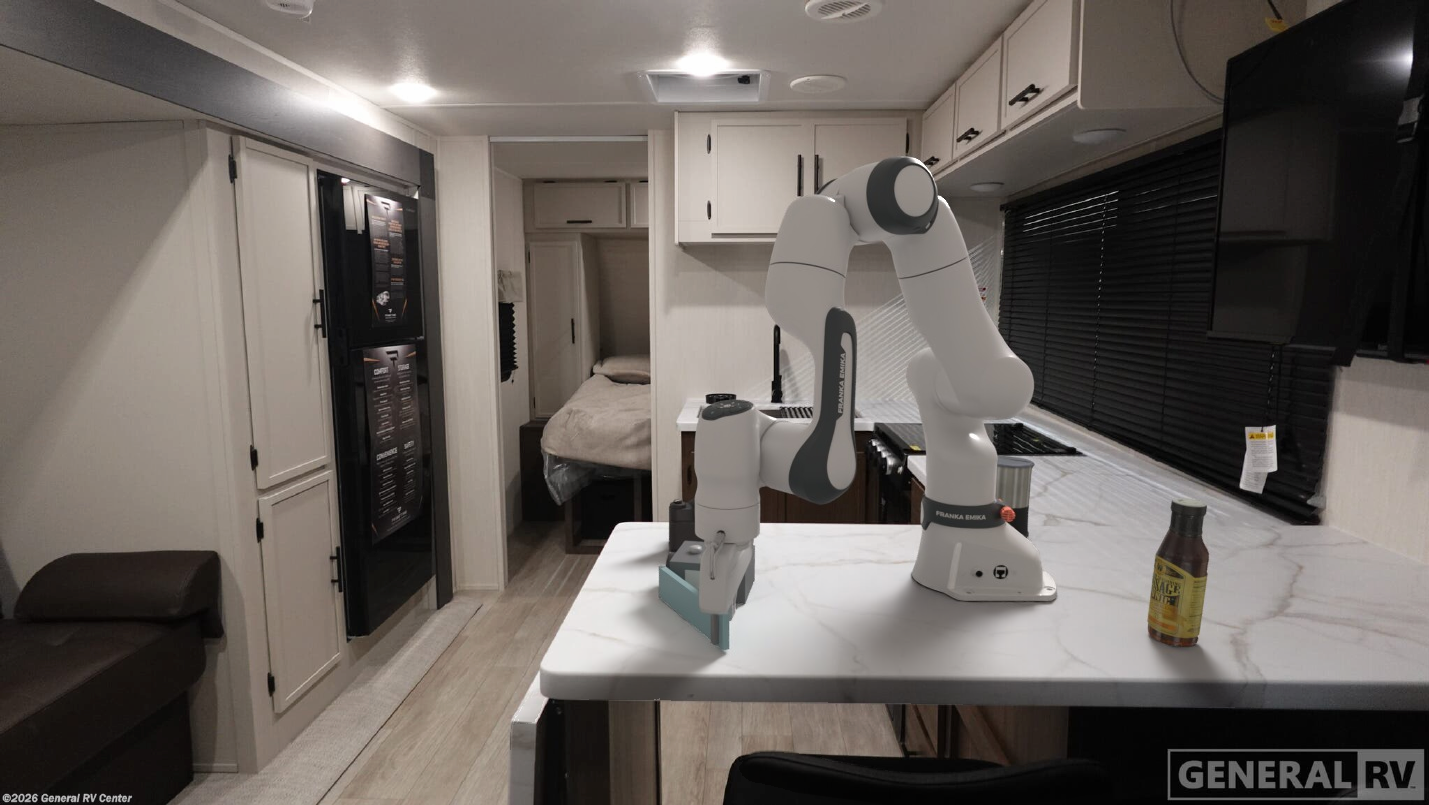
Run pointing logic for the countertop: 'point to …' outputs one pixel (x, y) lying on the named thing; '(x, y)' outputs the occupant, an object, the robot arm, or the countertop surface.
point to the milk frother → (1015, 488)
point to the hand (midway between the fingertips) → (727, 617)
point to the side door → (692, 608)
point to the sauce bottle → (1180, 577)
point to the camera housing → (689, 567)
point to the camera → (681, 524)
